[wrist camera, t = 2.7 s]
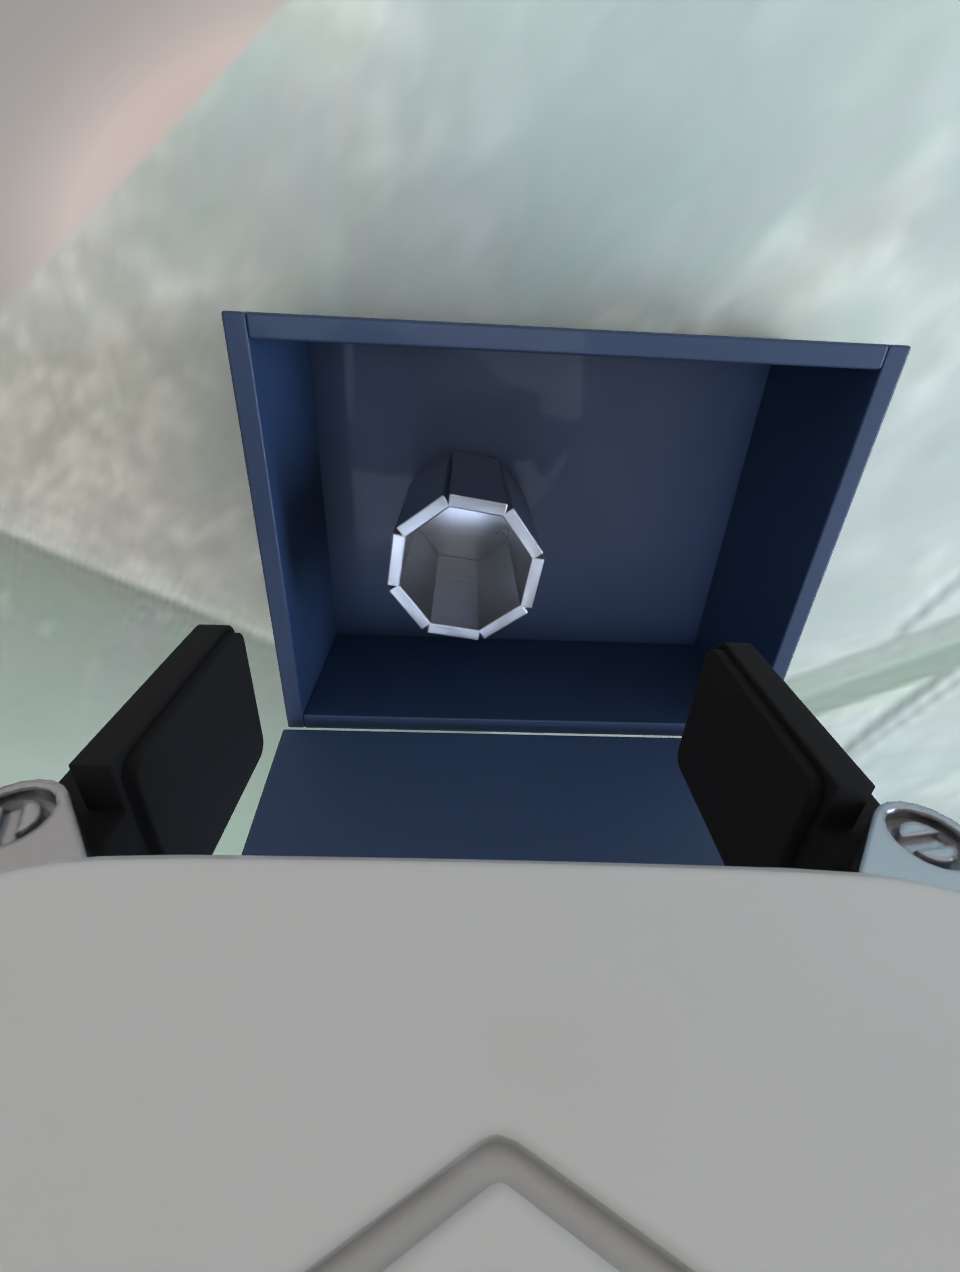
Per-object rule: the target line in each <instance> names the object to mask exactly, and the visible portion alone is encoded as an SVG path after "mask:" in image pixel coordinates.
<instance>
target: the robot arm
mask: <svg viewBox="0 0 960 1272" xmlns="http://www.w3.org/2000/svg"><path fill="white" fill-rule="evenodd" d="M262 750H263V735H262V730H261V725H260V720H259V715H258V710H257V704H256V699H255V694H254V689H253V684H252V678H251V673H250V668H249V663H248V658H247V653H246V647H245V642H244V638H243V636H242V634H240V633H235V632H234V630H233V628H232V627H231V626H230V625H203V624H201V625H198V626H196V627H195V628H194V629H193V631H192V632H191V633H190V634H189V635H188V636H187V637H186V638H185V639H184V640H183V641H182V642H181V644H180V645H179V646H178V647H177V648H176V649H175V650H174V651H173V652H172V653H171V654H170V655H169V657H168V658H167V659H166V660H165V661H164V662H163V663H162V664H161V665H160V666H159V667H158V669H157V670H156V671H155V672H154V673H153V674H152V675H151V676H150V677H149V678H148V679H147V680H146V682H145V683H144V684H143V685H142V686H141V687H140V688H139V689H138V690H137V691H136V692H135V694H134V695H133V696H132V697H131V698H130V699H129V700H128V701H127V702H126V703H125V704H124V705H123V707H122V708H121V709H120V710H119V711H118V712H117V713H116V714H115V715H114V716H113V717H112V719H111V720H110V721H109V722H108V723H107V724H106V725H105V726H104V727H103V728H102V729H101V730H100V732H99V733H98V734H97V735H96V736H95V737H94V738H93V739H92V740H91V741H90V742H89V743H88V745H87V746H86V747H85V748H84V749H83V750H82V751H81V752H80V753H79V754H78V755H77V757H76V758H75V759H74V760H73V761H72V762H71V763H70V764H69V768H70V770H69V771H68V773H67V774H66V775H65V776H64V777H63V778H62V779H61V780H60V781H59V782H55V781H52V780H41V779H37V780H29V781H21V782H18V783H14V784H11V785H7V786H4V787H1V788H0V1272H960V825H959V824H958V823H956V822H955V821H953V820H952V819H950V818H948V817H946V816H944V815H942V814H940V813H938V812H936V811H934V810H932V809H929V808H926V807H923V806H920V805H917V804H913V803H907V802H901V801H898V802H886V803H884V804H882V805H880V804H879V803H878V802H877V800H876V799H875V798H874V797H873V796H872V795H871V794H872V792H873V790H874V788H875V786H874V784H873V783H872V782H871V781H870V780H869V779H868V777H867V776H866V775H865V774H864V773H863V772H862V771H861V769H860V768H859V767H858V766H857V765H856V764H855V762H854V761H853V760H852V759H851V758H850V757H849V756H848V754H847V753H846V752H845V751H844V750H843V749H842V748H841V746H840V745H839V744H838V743H837V742H836V741H835V739H834V738H833V737H832V736H831V735H830V734H829V733H828V731H827V730H826V729H825V728H824V727H823V726H822V724H821V723H820V722H819V721H818V720H817V719H816V718H815V716H814V715H813V714H812V713H811V712H810V711H809V710H808V708H807V707H806V706H805V705H804V704H803V703H802V701H801V700H800V699H799V698H798V697H797V696H796V695H795V693H794V692H793V691H792V690H791V689H790V688H789V686H788V685H787V684H786V683H785V682H784V681H783V680H782V678H781V677H780V676H779V675H778V674H777V673H776V671H775V670H774V669H773V668H772V667H771V666H770V665H769V663H768V662H767V661H766V660H765V659H764V658H763V657H762V655H761V654H760V653H759V652H758V651H757V650H756V648H755V647H754V646H753V645H751V644H750V643H730V642H720V643H719V644H717V646H716V647H715V649H710V650H708V652H707V653H706V656H705V659H704V663H703V666H702V670H701V673H700V677H699V680H698V684H697V687H696V690H695V694H694V697H693V701H692V704H691V708H690V711H689V715H688V718H687V721H686V725H685V728H684V732H683V735H682V739H681V742H680V746H679V749H678V764H679V767H680V770H681V772H682V774H683V776H684V779H685V781H686V783H687V785H688V787H689V789H690V792H691V794H692V796H693V798H694V800H695V802H696V805H697V807H698V809H699V811H700V813H701V815H702V817H703V820H704V822H705V824H706V826H707V828H708V830H709V833H710V835H711V837H712V839H713V841H714V843H715V846H716V848H717V850H718V852H719V854H720V856H721V858H722V861H723V863H724V865H725V866H712V865H676V864H640V863H603V862H565V861H522V860H477V859H429V858H377V857H315V856H254V855H212V854H213V852H214V850H215V848H216V846H217V844H218V842H219V840H220V838H221V836H222V834H223V832H224V830H225V828H226V826H227V824H228V822H229V820H230V818H231V816H232V814H233V812H234V809H235V807H236V805H237V803H238V801H239V799H240V797H241V795H242V793H243V791H244V789H245V787H246V785H247V783H248V781H249V779H250V777H251V775H252V773H253V771H254V769H255V767H256V765H257V763H258V761H259V759H260V757H261V754H262Z"/></svg>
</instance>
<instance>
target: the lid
mask: <svg viewBox="0 0 960 1272" xmlns="http://www.w3.org/2000/svg"><path fill="white" fill-rule="evenodd" d="M681 739H682V738H644V737H599V736H554V735H509V734H464V733H418V732H373V731H328V730H283V733H282V736H281V739H280V742H279V745H278V748H277V751H276V754H275V757H274V760H273V763H272V766H271V769H270V772H269V775H268V777H267V780H266V783H265V786H264V789H263V792H262V795H261V798H260V801H259V804H258V807H257V810H256V813H255V816H254V819H253V822H252V825H251V828H250V831H249V834H248V837H247V840H246V843H245V846H244V849H243V852H242V855H254V856H315V857H377V858H429V859H477V860H522V861H565V862H603V863H640V864H676V865H712V866H725V865H724V863H723V861H722V858H721V856H720V854H719V852H718V850H717V848H716V846H715V843H714V841H713V839H712V837H711V835H710V833H709V830H708V828H707V826H706V824H705V822H704V820H703V817H702V815H701V813H700V811H699V809H698V807H697V805H696V802H695V800H694V798H693V796H692V794H691V792H690V789H689V787H688V785H687V783H686V781H685V779H684V776H683V774H682V772H681V770H680V767H679V764H678V749H679V746H680V742H681Z"/></svg>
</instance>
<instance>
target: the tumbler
mask: <svg viewBox="0 0 960 1272" xmlns="http://www.w3.org/2000/svg"><path fill="white" fill-rule="evenodd" d="M543 564H544V557H543V550H542V547H541V544H540V541H539V538H538V535H537V532H536V529H535V526H534V523H533V520H532V517H531V514H530V511H529V508H528V505H527V502H526V499H525V497H524V495H523V494H522V492H521V490H520V489H519V487H518V486H517V483H516V482H515V480H514V478H513V477H512V475H511V474H510V473H509V471H508V470H507V469H506V467H505V466H504V464H503V463H499V462H498V460H497V459H493V458H491V457H488V456H486V455H483V454H480V453H475V452H457V451H454V453H451V454H450V453H447V454H446V455H444V456H442V457H440V458H438V459H436V460H435V461H433V462H431V463H430V464H429V465H428V466H427V467H426V468H425V469H424V470H423V471H422V472H421V473H419V474H418V475H417V476H415V477H414V479H413V482H411V484H410V487H409V489H408V492H407V495H406V498H405V501H404V503H403V506H402V509H401V512H400V515H399V517H398V520H397V523H396V526H395V529H394V531H393V534H392V543H391V551H390V560H389V569H388V578H387V585H390V589H389V592H390V593H391V594H392V595H393V596H394V597H395V599H396V600H397V601H398V602H399V603H400V605H401V606H402V607H403V608H404V609H405V610H406V612H407V613H408V614H409V615H410V616H411V618H412V619H413V620H414V621H415V622H416V623H417V625H418V626H419V627H420V628H421V629H424V628H425V627H427V626H428V628H427V632H428V633H433V634H440V635H446V636H453V637H459V638H466V639H472V640H478V639H479V635H481V636H482V637H483V638H484V639H486V638H487V637H489V636H491V635H492V634H494V633H496V632H497V631H499V630H501V629H502V628H504V627H506V626H507V625H509V624H511V623H512V622H514V621H516V620H517V619H519V618H521V617H522V616H524V615H526V614H527V613H528V612H527V608H532V606H533V602H534V598H535V594H536V590H537V586H538V583H539V579H540V575H541V571H542V567H543Z"/></svg>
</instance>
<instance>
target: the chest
mask: <svg viewBox="0 0 960 1272" xmlns="http://www.w3.org/2000/svg"><path fill="white" fill-rule="evenodd" d="M222 320H223V326H224V332H225V338H226V345H227V351H228V357H229V363H230V369H231V375H232V382H233V388H234V394H235V400H236V406H237V412H238V419H239V425H240V431H241V437H242V443H243V449H244V455H245V462H246V468H247V474H248V480H249V486H250V492H251V499H252V505H253V511H254V517H255V523H256V529H257V536H258V542H259V548H260V554H261V560H262V566H263V573H264V579H265V585H266V591H267V597H268V603H269V610H270V616H271V622H272V628H273V634H274V640H275V647H276V653H277V659H278V665H279V671H280V677H281V683H282V690H283V696H284V702H285V708H286V714H287V720H288V726H289V727H304V726H305V727H307V728H352V729H397V730H441V731H486V732H531V733H576V734H621V735H665V736H682V735H683V732H684V728H685V725H686V721H687V718H688V715H689V711H690V708H691V704H692V701H693V697H694V694H695V690H696V687H697V684H698V680H699V677H700V673H701V670H702V666H703V663H704V659H705V656H706V653H707V652H708V650H710V649H715V647H716V646H717V644H719V643H720V642H730V643H750V644H751V645H753V646H754V647H755V648H756V650H757V651H758V652H759V653H760V654H761V655H762V657H763V658H764V659H765V660H766V661H767V662H768V663H769V665H770V666H771V667H772V668H773V669H774V670H775V671H776V673H777V674H778V675H779V676H780V677H781V678H782V680H783V681H784V678H785V675H786V673H787V670H788V668H789V665H790V662H791V660H792V657H793V654H794V652H795V649H796V647H797V644H798V641H799V639H800V636H801V634H802V631H803V628H804V626H805V623H806V621H807V618H808V615H809V613H810V610H811V607H812V605H813V602H814V600H815V597H816V594H817V592H818V589H819V587H820V584H821V581H822V579H823V576H824V573H825V571H826V568H827V566H828V563H829V560H830V558H831V555H832V553H833V550H834V547H835V545H836V542H837V539H838V537H839V534H840V532H841V529H842V526H843V524H844V521H845V519H846V516H847V513H848V511H849V508H850V506H851V503H852V500H853V498H854V495H855V492H856V490H857V487H858V485H859V482H860V479H861V477H862V474H863V472H864V469H865V466H866V464H867V461H868V458H869V456H870V453H871V451H872V448H873V445H874V443H875V440H876V438H877V435H878V432H879V430H880V427H881V425H882V422H883V419H884V417H885V414H886V411H887V409H888V406H889V404H890V401H891V398H892V396H893V393H894V391H895V388H896V385H897V383H898V380H899V377H900V375H901V372H902V370H903V367H904V364H905V362H906V359H907V357H908V354H909V351H910V346H906V345H886V344H867V343H847V342H827V341H808V340H788V339H769V338H749V337H729V336H710V335H690V334H671V333H651V332H632V331H612V330H592V329H573V328H553V327H534V326H514V325H495V324H475V323H455V322H436V321H416V320H397V319H377V318H357V317H338V316H318V315H299V314H279V313H260V312H240V311H222ZM454 451H457V452H475V453H480V454H483V455H486V456H488V457H491V458H493V459H497V460H498V462H499V463H503V464H504V466H505V467H506V469H507V470H508V471H509V473H510V474H511V475H512V477H513V478H514V480H515V482H516V483H517V486H518V487H519V489H520V490H521V492H522V494H523V495H524V497H525V499H526V502H527V505H528V508H529V511H530V514H531V517H532V520H533V523H534V526H535V529H536V532H537V535H538V538H539V541H540V544H541V547H542V550H543V557H544V564H543V567H542V571H541V575H540V579H539V583H538V586H537V590H536V594H535V598H534V602H533V606H532V608H527V612H528V613H527V614H526V615H524V616H522V617H521V618H519V619H517V620H516V621H514V622H512V623H511V624H509V625H507V626H506V627H504V628H502V629H501V630H499V631H497V632H496V633H494V634H492V635H491V636H489V637H487V638H486V639H484V638H483V637H482V636H481V635H479V639H478V640H472V639H466V638H459V637H453V636H446V635H440V634H433V633H428V632H427V628H428V626H427V627H425V628H424V629H421V628H420V627H419V626H418V625H417V623H416V622H415V621H414V620H413V619H412V618H411V616H410V615H409V614H408V613H407V612H406V610H405V609H404V608H403V607H402V606H401V605H400V603H399V602H398V601H397V600H396V599H395V597H394V596H393V595H392V594H391V593H390V592H389V589H390V585H387V578H388V569H389V560H390V551H391V543H392V534H393V531H394V529H395V526H396V523H397V520H398V517H399V515H400V512H401V509H402V506H403V503H404V501H405V498H406V495H407V492H408V489H409V487H410V484H411V482H413V479H414V477H415V476H417V475H418V474H419V473H421V472H422V471H423V470H424V469H425V468H426V467H427V466H428V465H429V464H430V463H431V462H433V461H435V460H436V459H438V458H440V457H442V456H444V455H446V454H447V453H450V454H451V453H454Z"/></svg>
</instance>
